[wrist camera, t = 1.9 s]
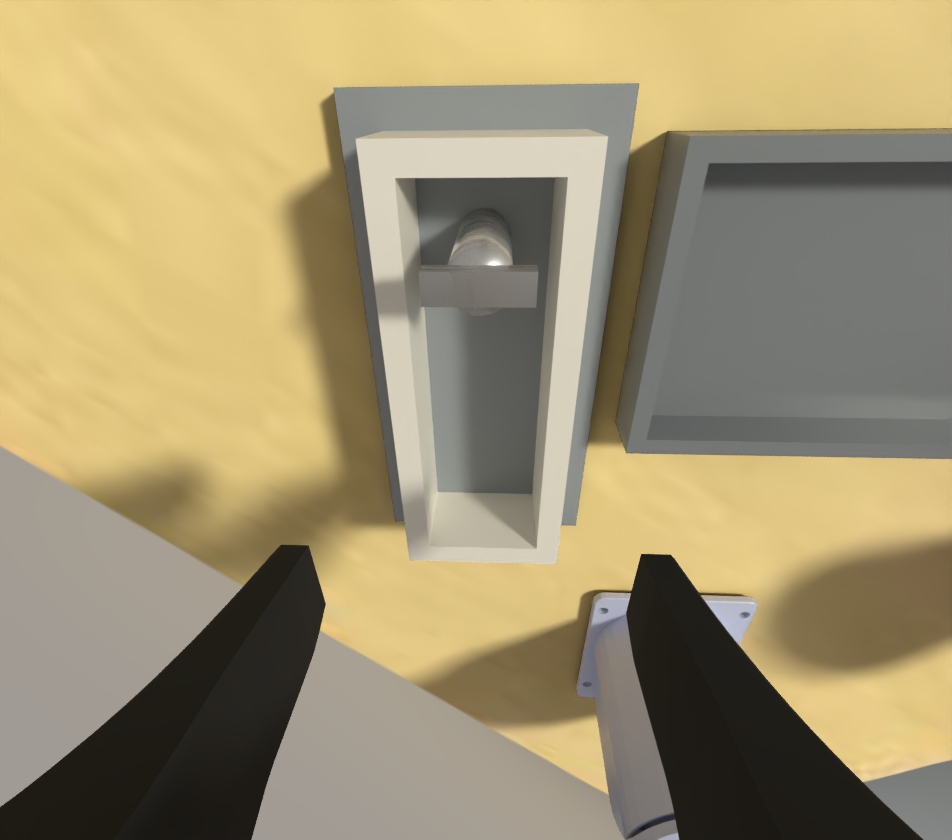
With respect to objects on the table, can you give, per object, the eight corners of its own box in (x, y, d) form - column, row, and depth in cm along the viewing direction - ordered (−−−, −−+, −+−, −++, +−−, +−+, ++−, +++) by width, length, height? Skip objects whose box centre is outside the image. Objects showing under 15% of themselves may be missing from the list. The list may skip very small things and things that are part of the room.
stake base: (573, 515, 22) (593, 626, 17) (397, 511, 22) (370, 619, 18) (634, 84, 13) (705, 76, 8) (339, 88, 13) (255, 82, 9)
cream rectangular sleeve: (547, 533, 22) (553, 589, 19) (422, 529, 22) (412, 585, 19) (588, 128, 13) (608, 136, 11) (382, 131, 13) (355, 138, 11)
